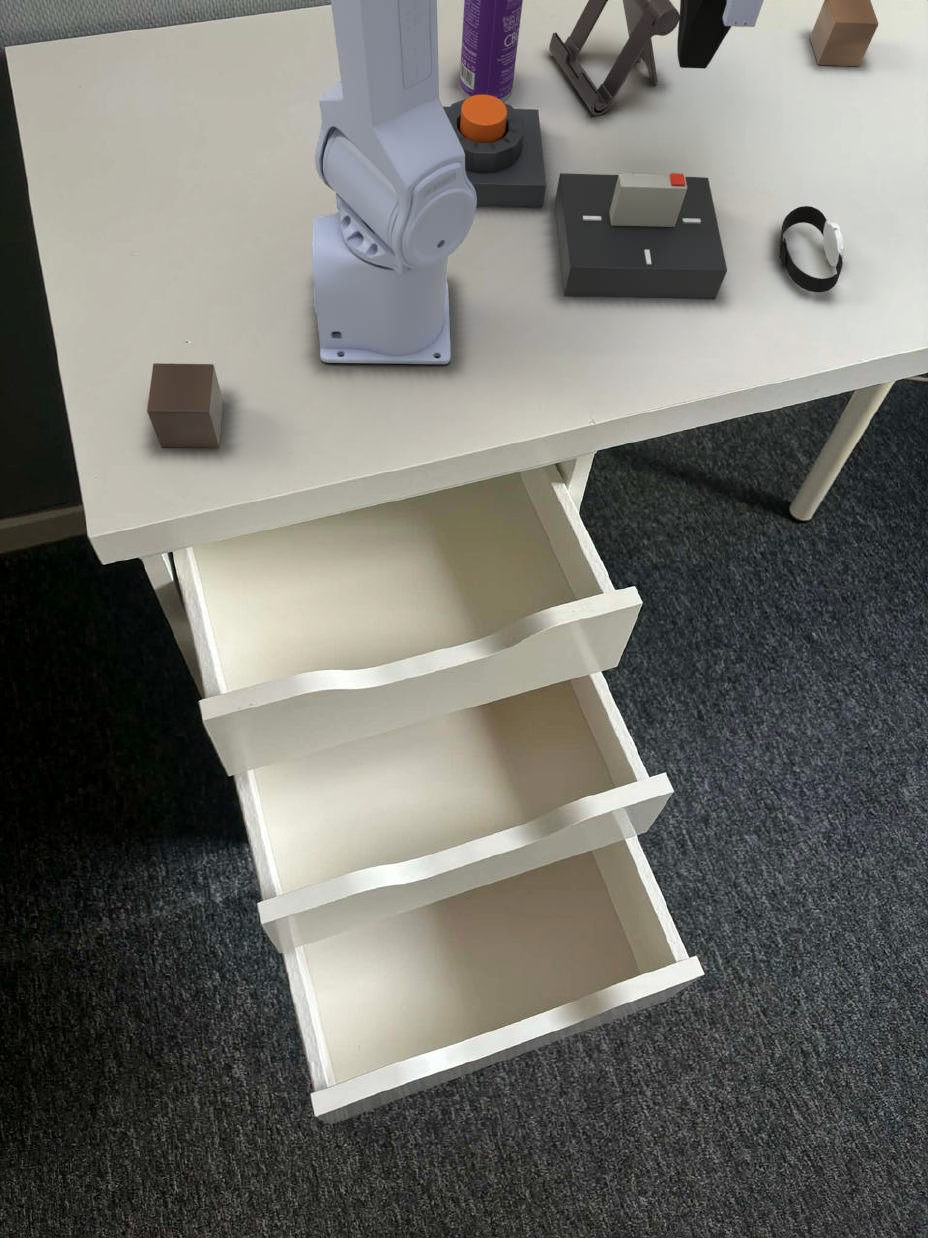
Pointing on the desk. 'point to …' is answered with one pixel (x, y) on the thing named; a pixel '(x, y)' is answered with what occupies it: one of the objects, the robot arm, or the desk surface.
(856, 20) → the cork block
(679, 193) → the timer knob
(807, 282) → the watch
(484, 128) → the power button
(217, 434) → the walnut block
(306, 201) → the desk surface
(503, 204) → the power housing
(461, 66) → the container
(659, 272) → the panel
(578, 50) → the tablet stand
